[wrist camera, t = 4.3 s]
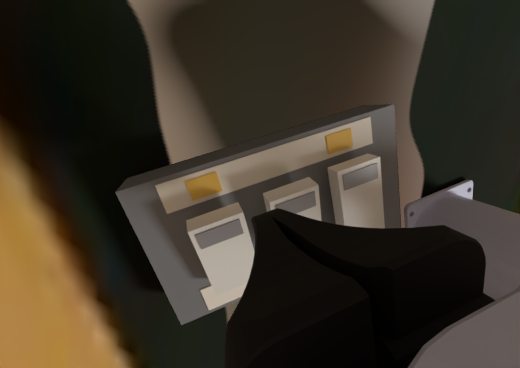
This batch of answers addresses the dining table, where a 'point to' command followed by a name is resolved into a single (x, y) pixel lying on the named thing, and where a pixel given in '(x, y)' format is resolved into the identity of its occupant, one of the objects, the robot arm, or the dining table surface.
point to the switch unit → (249, 193)
